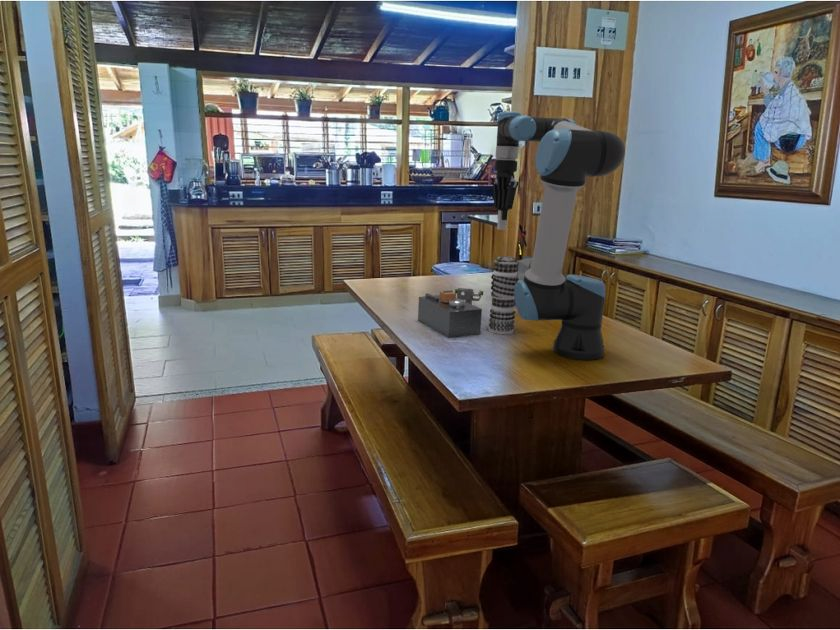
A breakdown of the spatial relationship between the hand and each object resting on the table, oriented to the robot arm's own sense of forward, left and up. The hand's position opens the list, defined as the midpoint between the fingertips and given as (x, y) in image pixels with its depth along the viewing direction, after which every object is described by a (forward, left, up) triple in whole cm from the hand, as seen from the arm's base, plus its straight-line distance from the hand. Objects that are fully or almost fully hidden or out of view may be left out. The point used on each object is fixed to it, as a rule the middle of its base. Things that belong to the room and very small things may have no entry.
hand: (501, 229), depth 204 cm
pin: (-9, +22, -32) cm, 40 cm away
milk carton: (+12, -23, -33) cm, 42 cm away
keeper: (-3, +22, -24) cm, 32 cm away
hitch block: (-4, +22, -32) cm, 39 cm away
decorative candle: (-14, +7, -33) cm, 36 cm away
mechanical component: (+6, +8, -33) cm, 34 cm away
